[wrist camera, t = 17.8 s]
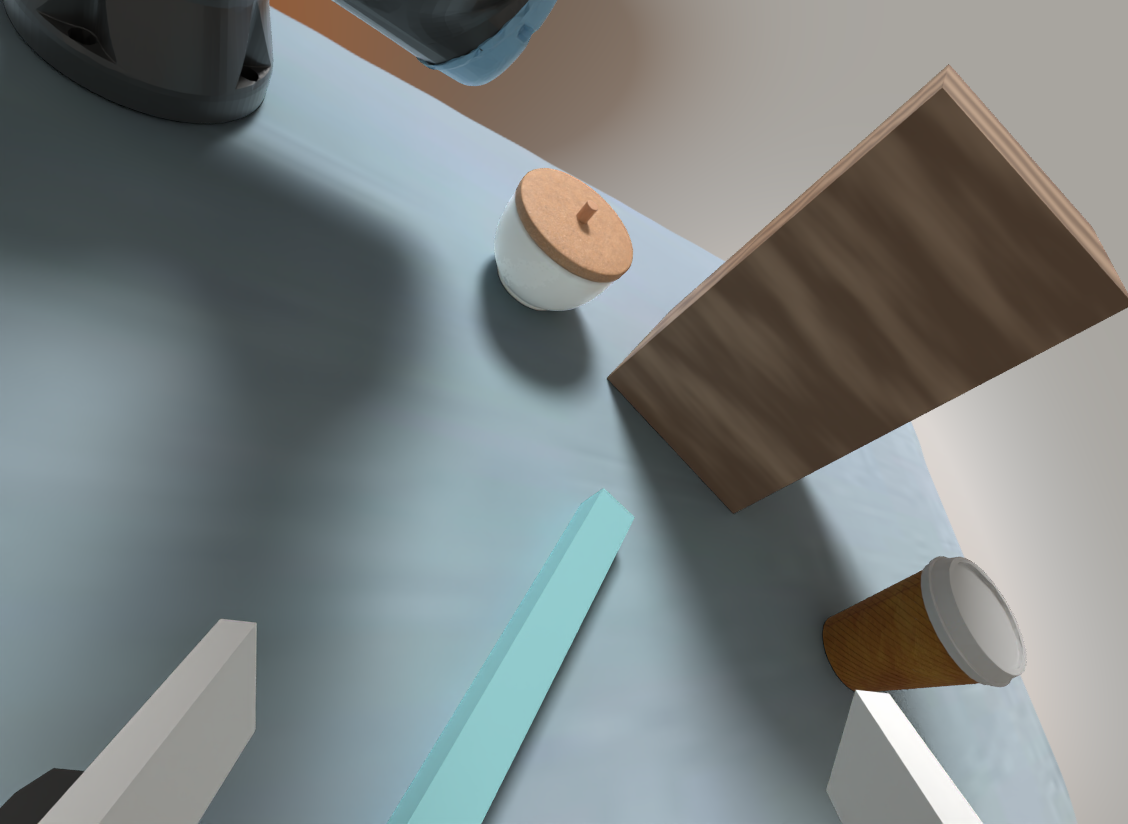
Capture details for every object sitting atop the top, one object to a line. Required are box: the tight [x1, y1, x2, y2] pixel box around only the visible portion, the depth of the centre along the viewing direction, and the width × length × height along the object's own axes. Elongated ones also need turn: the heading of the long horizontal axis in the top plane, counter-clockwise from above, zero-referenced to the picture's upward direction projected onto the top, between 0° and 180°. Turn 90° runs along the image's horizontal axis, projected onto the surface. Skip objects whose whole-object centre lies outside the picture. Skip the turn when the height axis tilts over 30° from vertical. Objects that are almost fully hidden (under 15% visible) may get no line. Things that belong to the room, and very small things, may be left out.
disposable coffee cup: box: [823, 556, 1027, 692], centre depth 51 cm, size 10×10×12 cm
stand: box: [607, 64, 1128, 514], centre depth 51 cm, size 16×16×30 cm
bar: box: [387, 488, 635, 824], centre depth 36 cm, size 26×3×3 cm, turn 151°
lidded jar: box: [494, 168, 633, 311], centre depth 52 cm, size 11×11×9 cm
